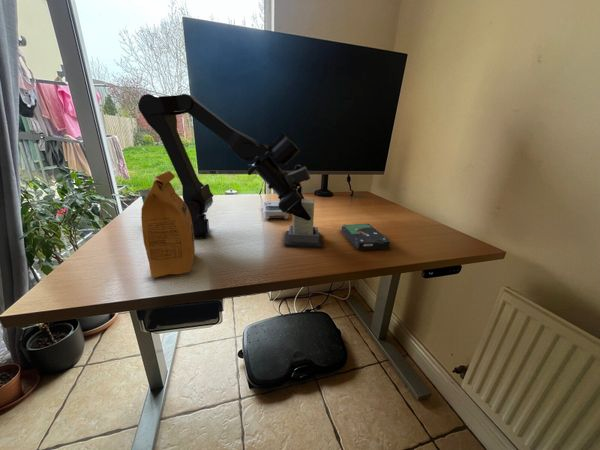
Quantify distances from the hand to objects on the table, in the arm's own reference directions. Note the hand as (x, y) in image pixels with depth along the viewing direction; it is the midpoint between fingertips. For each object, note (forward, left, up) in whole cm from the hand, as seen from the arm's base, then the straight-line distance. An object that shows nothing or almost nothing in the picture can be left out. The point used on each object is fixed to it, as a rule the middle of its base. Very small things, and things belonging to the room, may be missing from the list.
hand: (309, 214), depth 73 cm
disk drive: (+19, -1, -9) cm, 21 cm away
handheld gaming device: (-8, +25, -9) cm, 28 cm away
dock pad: (-1, 0, -9) cm, 9 cm away
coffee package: (-35, -12, -9) cm, 38 cm away
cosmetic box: (-2, 0, -8) cm, 8 cm away
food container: (-51, +28, -9) cm, 59 cm away
